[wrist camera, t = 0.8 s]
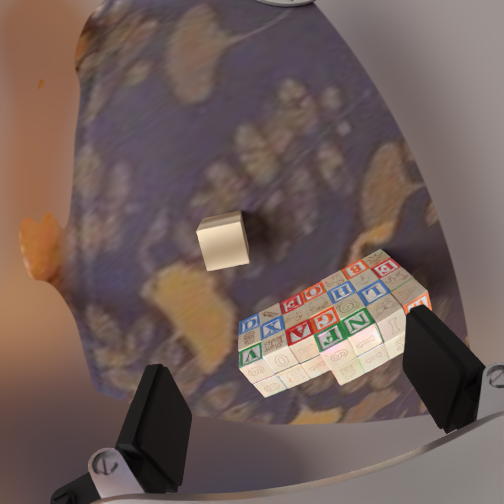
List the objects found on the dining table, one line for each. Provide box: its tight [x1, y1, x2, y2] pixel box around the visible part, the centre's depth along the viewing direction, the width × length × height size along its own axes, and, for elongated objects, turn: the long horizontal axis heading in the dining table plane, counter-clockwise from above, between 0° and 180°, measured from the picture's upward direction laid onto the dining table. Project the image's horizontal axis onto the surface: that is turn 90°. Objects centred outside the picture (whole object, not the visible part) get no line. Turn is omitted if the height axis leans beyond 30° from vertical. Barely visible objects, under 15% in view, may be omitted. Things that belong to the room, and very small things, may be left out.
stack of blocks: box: [239, 249, 432, 397], centre depth 33 cm, size 21×6×12 cm, turn 119°
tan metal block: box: [196, 211, 249, 271], centre depth 33 cm, size 4×4×5 cm
